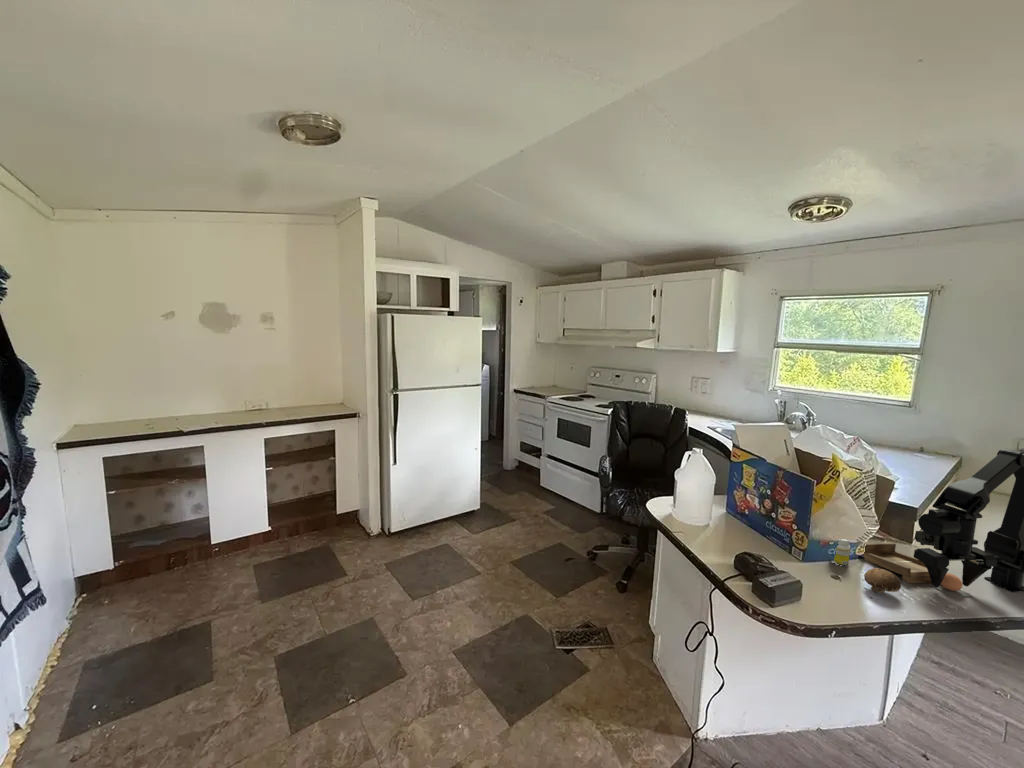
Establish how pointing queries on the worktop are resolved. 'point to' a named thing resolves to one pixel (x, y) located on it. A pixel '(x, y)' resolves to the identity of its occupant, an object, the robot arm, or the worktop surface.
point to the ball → (951, 582)
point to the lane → (896, 562)
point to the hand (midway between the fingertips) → (950, 586)
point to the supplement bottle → (842, 552)
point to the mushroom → (882, 580)
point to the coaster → (951, 592)
